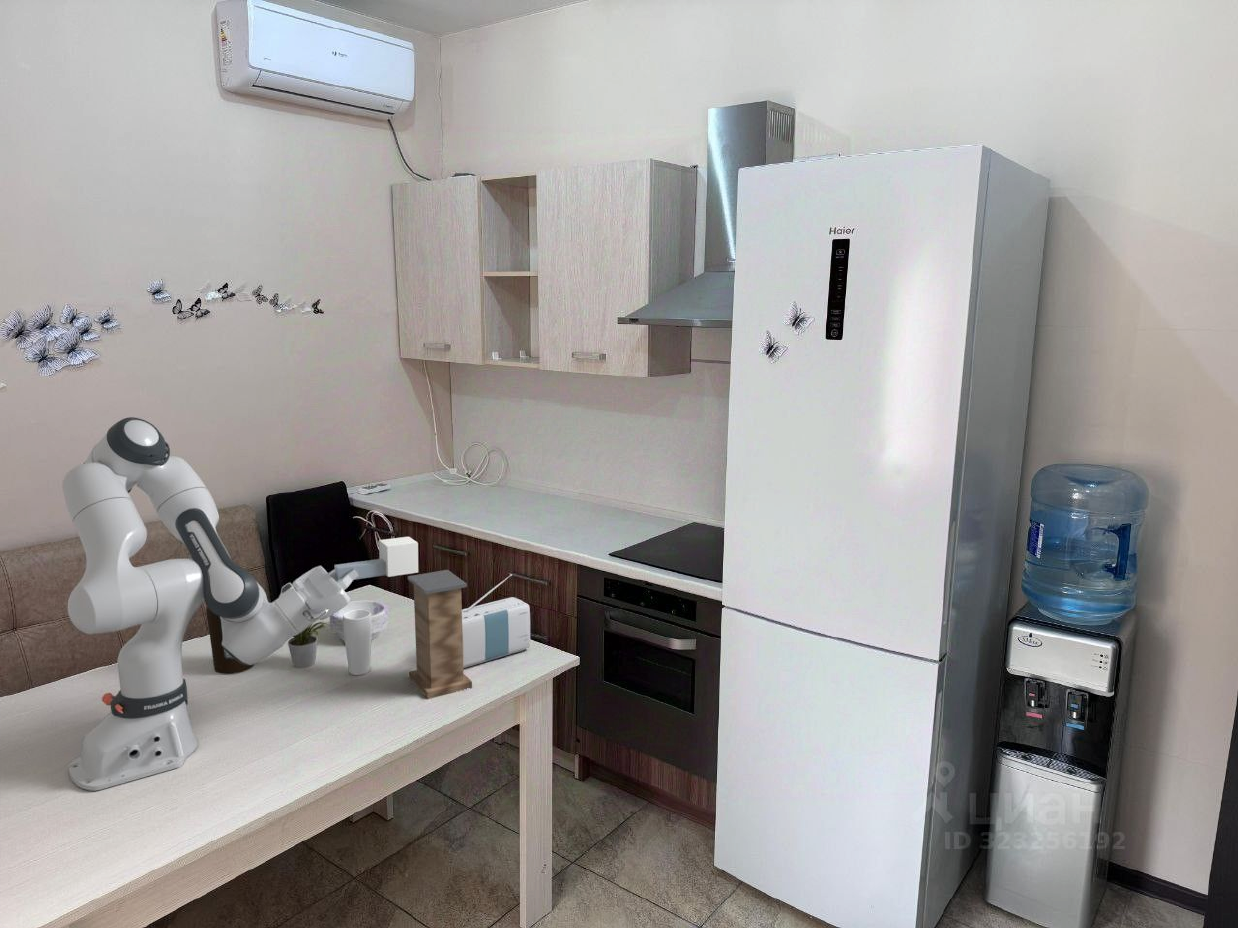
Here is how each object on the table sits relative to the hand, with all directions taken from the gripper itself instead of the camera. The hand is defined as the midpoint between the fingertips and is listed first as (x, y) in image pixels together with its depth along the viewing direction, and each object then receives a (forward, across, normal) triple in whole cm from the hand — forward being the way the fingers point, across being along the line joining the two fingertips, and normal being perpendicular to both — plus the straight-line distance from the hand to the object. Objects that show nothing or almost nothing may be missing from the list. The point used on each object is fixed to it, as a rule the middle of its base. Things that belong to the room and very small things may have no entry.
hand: (353, 568), depth 187 cm
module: (+3, 0, +4) cm, 5 cm away
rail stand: (+1, 0, +37) cm, 37 cm away
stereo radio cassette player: (+15, +8, +46) cm, 49 cm away
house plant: (-22, +27, +25) cm, 42 cm away
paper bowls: (-6, +39, +33) cm, 51 cm away
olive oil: (-34, +35, +17) cm, 52 cm away
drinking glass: (-12, +16, +30) cm, 36 cm away
